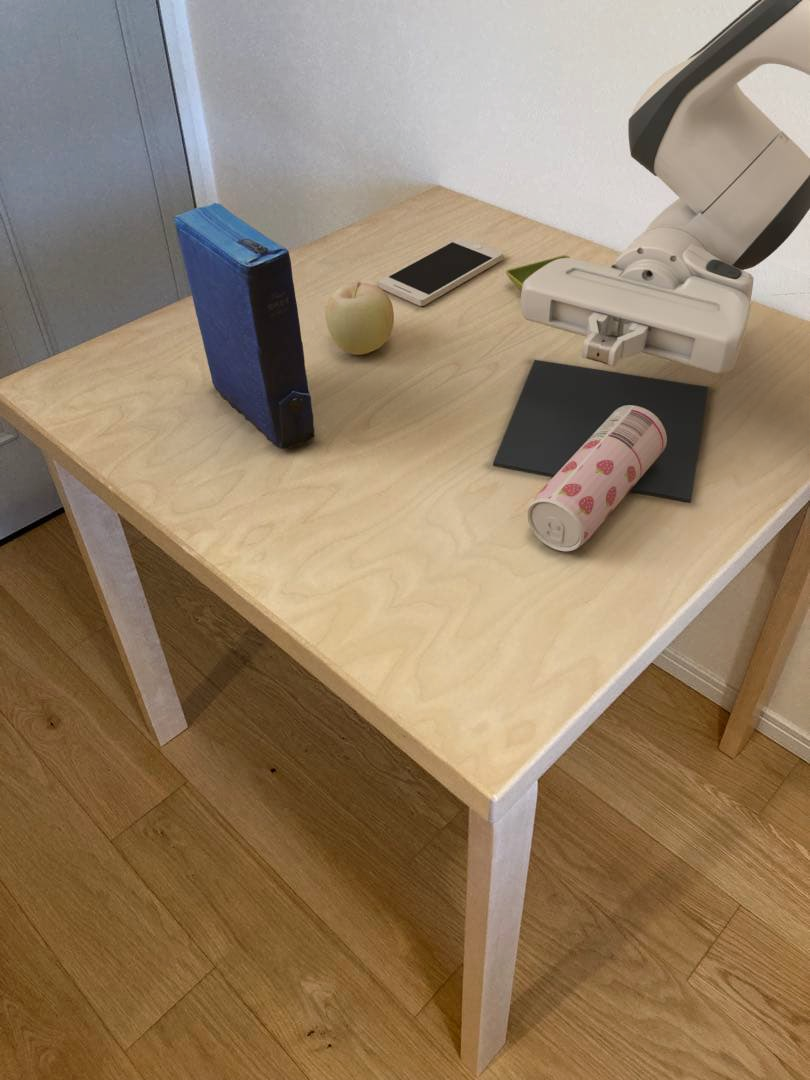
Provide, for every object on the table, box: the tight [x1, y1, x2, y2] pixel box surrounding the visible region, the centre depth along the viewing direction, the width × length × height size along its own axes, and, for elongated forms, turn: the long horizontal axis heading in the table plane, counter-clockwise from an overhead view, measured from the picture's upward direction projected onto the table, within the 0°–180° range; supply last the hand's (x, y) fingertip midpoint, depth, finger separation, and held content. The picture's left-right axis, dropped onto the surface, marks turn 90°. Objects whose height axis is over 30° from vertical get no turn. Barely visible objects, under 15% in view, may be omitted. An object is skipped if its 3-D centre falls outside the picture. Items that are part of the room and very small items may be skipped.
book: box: [173, 202, 316, 450], centre depth 83 cm, size 14×5×20 cm, turn 37°
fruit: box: [324, 281, 395, 356], centre depth 96 cm, size 8×7×8 cm
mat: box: [492, 359, 709, 503], centre depth 87 cm, size 18×18×1 cm
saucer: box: [505, 255, 571, 292], centre depth 105 cm, size 9×9×2 cm
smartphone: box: [378, 236, 504, 307], centre depth 110 cm, size 7×15×1 cm, turn 137°
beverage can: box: [527, 405, 667, 552], centre depth 77 cm, size 6×6×15 cm
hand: (597, 354), depth 76 cm, fingers closed
